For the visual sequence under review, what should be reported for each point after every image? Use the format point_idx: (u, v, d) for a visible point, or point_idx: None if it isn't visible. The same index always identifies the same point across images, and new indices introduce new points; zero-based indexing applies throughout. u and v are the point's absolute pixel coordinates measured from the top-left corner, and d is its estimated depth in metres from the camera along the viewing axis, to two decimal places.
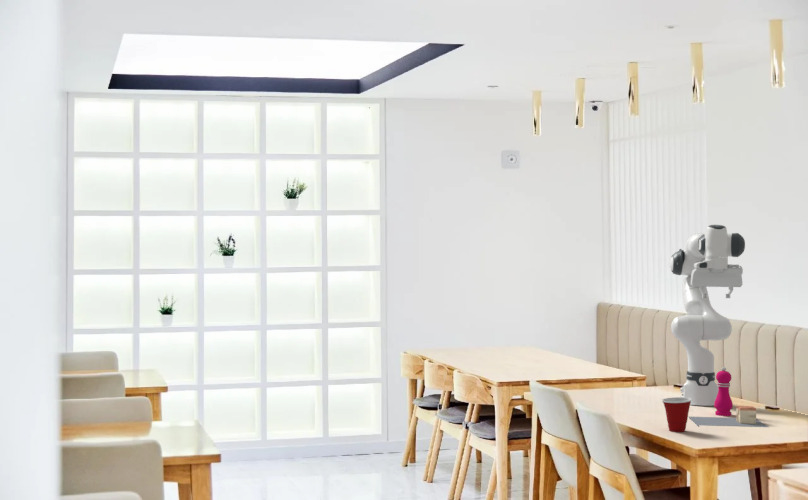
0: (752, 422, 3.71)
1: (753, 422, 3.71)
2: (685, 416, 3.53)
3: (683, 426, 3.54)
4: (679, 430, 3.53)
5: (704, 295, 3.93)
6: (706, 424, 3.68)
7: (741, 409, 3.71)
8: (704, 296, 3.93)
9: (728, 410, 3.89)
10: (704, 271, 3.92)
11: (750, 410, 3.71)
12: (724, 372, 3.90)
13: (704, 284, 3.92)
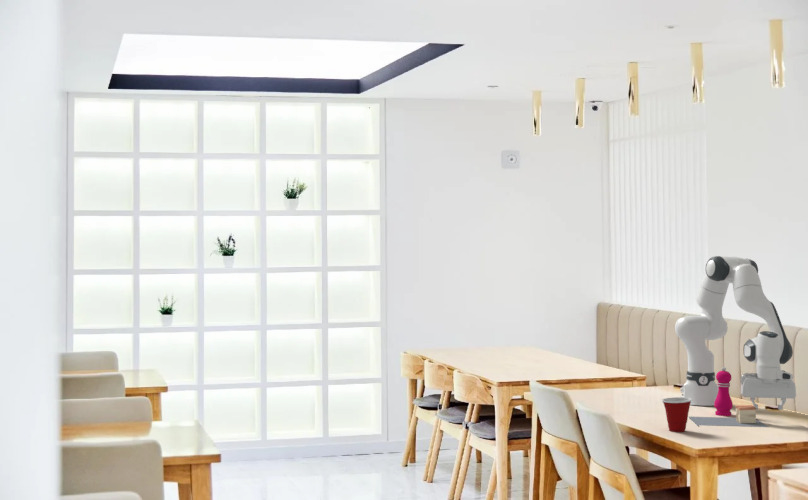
0: (752, 421, 3.71)
1: (753, 421, 3.71)
2: (685, 416, 3.53)
3: (683, 426, 3.54)
4: (679, 430, 3.53)
5: None
6: (706, 424, 3.68)
7: (740, 409, 3.71)
8: None
9: (728, 410, 3.89)
10: None
11: (749, 409, 3.71)
12: (724, 372, 3.90)
13: None
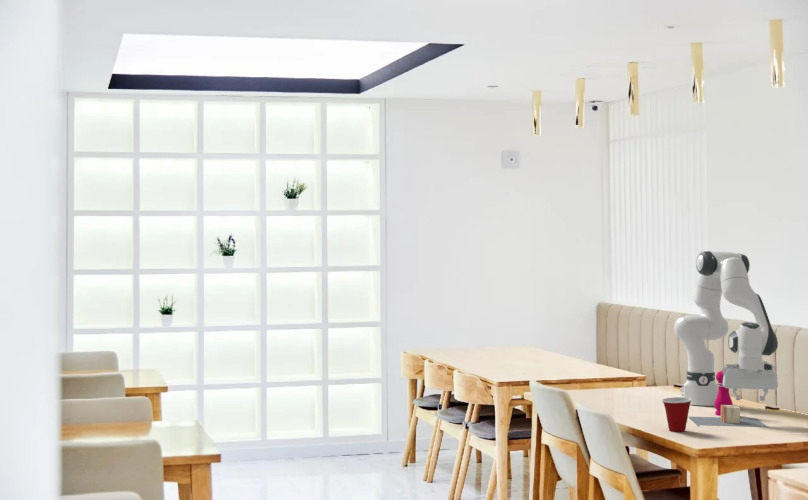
0: (738, 411, 3.71)
1: (738, 410, 3.71)
2: (685, 416, 3.53)
3: (683, 426, 3.54)
4: (679, 430, 3.53)
5: None
6: (706, 424, 3.68)
7: (725, 421, 3.72)
8: None
9: None
10: None
11: (726, 412, 3.72)
12: None
13: None
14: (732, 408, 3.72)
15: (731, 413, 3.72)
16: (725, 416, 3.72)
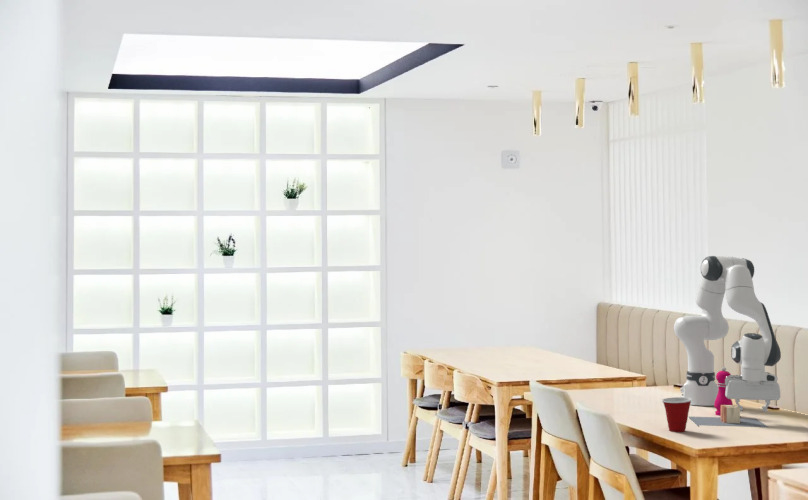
0: (738, 411, 3.71)
1: (738, 410, 3.71)
2: (685, 416, 3.53)
3: (683, 426, 3.54)
4: (679, 430, 3.53)
5: None
6: (706, 424, 3.68)
7: (725, 421, 3.72)
8: None
9: None
10: None
11: (726, 412, 3.72)
12: (724, 372, 3.90)
13: None
14: (732, 408, 3.72)
15: (731, 413, 3.72)
16: (725, 416, 3.72)
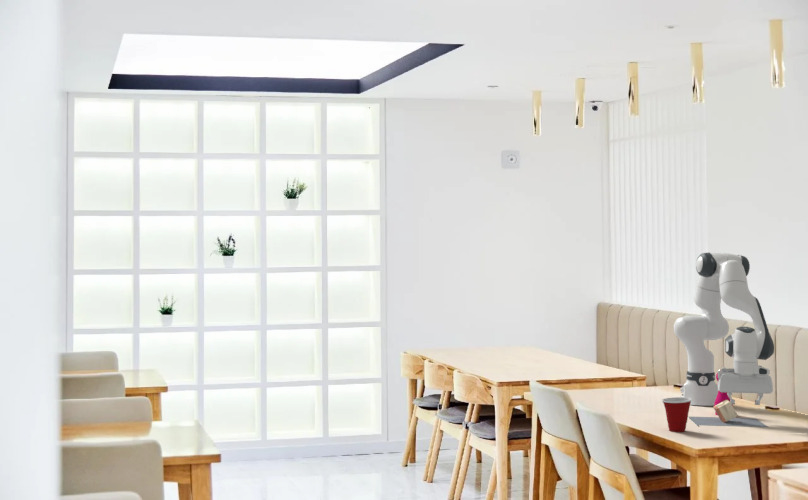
0: (730, 405, 3.72)
1: (730, 404, 3.72)
2: (685, 416, 3.53)
3: (683, 426, 3.54)
4: (679, 430, 3.53)
5: None
6: (706, 424, 3.68)
7: (724, 420, 3.72)
8: None
9: None
10: None
11: (721, 412, 3.72)
12: None
13: None
14: (723, 406, 3.72)
15: (725, 411, 3.72)
16: (722, 416, 3.72)
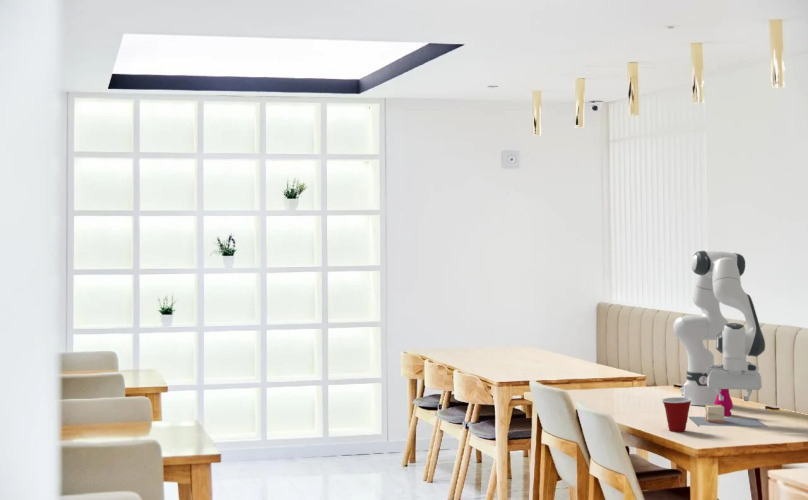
0: (711, 408, 3.72)
1: (710, 408, 3.72)
2: (685, 416, 3.53)
3: (683, 426, 3.54)
4: (679, 430, 3.53)
5: None
6: (706, 424, 3.68)
7: (722, 421, 3.72)
8: None
9: (728, 410, 3.89)
10: None
11: (713, 420, 3.72)
12: None
13: None
14: (709, 414, 3.73)
15: (714, 415, 3.72)
16: (717, 421, 3.72)
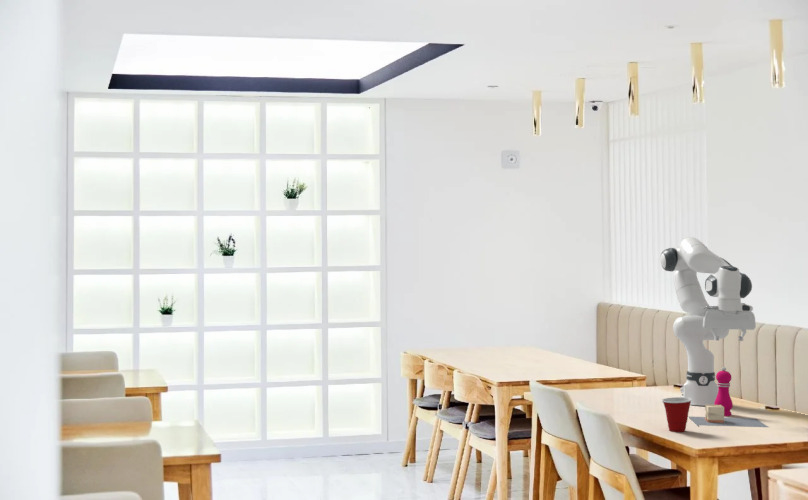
0: (711, 408, 3.72)
1: (710, 408, 3.72)
2: (685, 416, 3.53)
3: (683, 426, 3.54)
4: (679, 430, 3.53)
5: None
6: (706, 424, 3.68)
7: (722, 421, 3.72)
8: None
9: (728, 410, 3.89)
10: None
11: (713, 420, 3.72)
12: (724, 372, 3.90)
13: None
14: (709, 414, 3.73)
15: (714, 415, 3.72)
16: (717, 421, 3.72)
